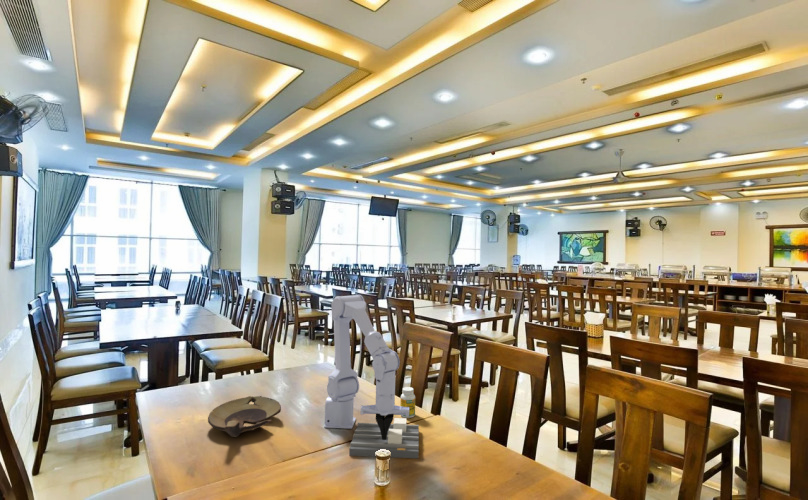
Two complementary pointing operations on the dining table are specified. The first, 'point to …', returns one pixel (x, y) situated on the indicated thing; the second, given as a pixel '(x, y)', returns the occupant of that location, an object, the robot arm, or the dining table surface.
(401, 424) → the far switch tab
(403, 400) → the supplement bottle
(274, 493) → the dining table surface
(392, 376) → the robot arm
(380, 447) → the switch board
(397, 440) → the near switch tab
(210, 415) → the grey shallow oval dish
